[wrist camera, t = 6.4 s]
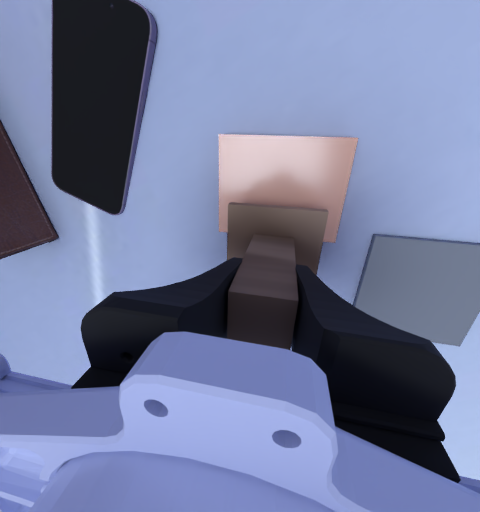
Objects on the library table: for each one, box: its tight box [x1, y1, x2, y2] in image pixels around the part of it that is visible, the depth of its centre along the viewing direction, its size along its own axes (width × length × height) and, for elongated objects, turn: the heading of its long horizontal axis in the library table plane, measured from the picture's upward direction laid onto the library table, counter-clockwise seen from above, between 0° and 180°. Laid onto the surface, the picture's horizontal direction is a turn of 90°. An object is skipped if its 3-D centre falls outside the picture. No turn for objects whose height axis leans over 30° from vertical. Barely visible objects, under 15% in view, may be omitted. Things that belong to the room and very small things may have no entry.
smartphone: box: [51, 0, 157, 215], centre depth 18 cm, size 7×1×15 cm
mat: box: [353, 234, 480, 346], centre depth 19 cm, size 9×9×1 cm
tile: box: [219, 134, 358, 243], centre depth 17 cm, size 2×9×7 cm
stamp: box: [227, 202, 329, 350], centre depth 12 cm, size 6×6×8 cm
